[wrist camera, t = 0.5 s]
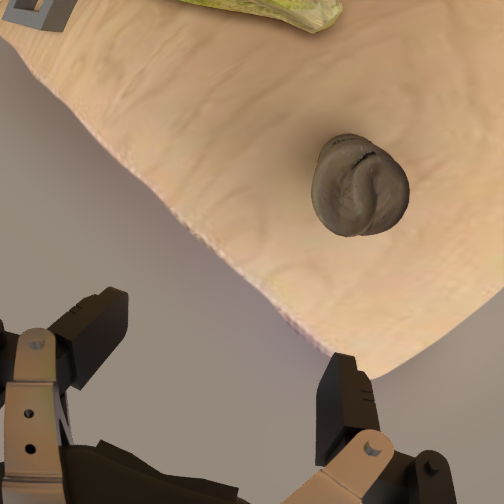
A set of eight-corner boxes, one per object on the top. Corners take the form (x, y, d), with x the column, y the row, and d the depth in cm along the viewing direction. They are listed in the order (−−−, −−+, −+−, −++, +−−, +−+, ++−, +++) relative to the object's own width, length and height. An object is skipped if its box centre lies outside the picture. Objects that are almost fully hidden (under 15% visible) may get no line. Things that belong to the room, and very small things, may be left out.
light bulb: (318, 187, 30) (321, 258, 17) (306, 132, 28) (300, 158, 15) (374, 178, 28) (420, 242, 15) (364, 122, 26) (411, 140, 13)
